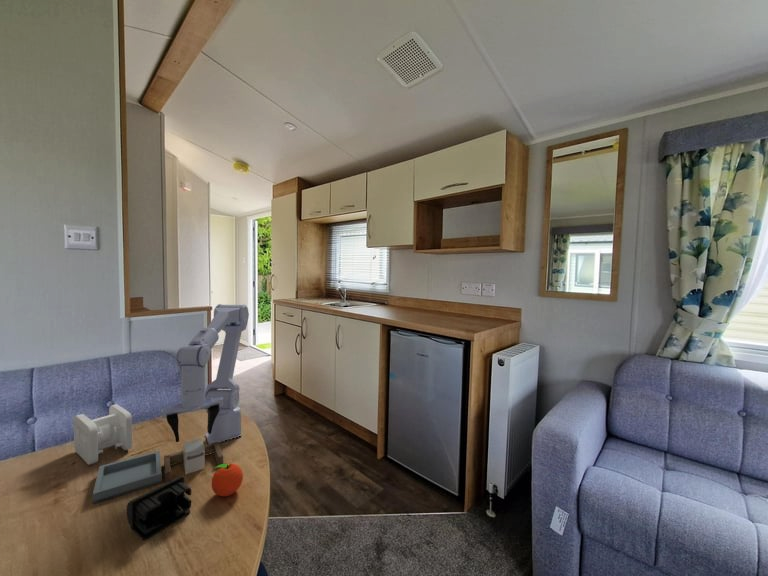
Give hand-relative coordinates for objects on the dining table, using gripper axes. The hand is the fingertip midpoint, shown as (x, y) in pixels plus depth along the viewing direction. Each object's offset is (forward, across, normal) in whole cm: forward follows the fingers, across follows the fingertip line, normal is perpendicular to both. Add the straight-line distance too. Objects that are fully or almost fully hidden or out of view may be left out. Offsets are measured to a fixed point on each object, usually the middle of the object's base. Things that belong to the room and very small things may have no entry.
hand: (193, 436), depth 88 cm
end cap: (+9, -8, -18) cm, 22 cm away
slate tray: (+8, -14, +3) cm, 17 cm away
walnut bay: (+8, 0, 0) cm, 8 cm away
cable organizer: (+9, -21, +23) cm, 32 cm away
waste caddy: (+8, 0, 0) cm, 8 cm away
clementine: (+9, +5, -17) cm, 20 cm away
